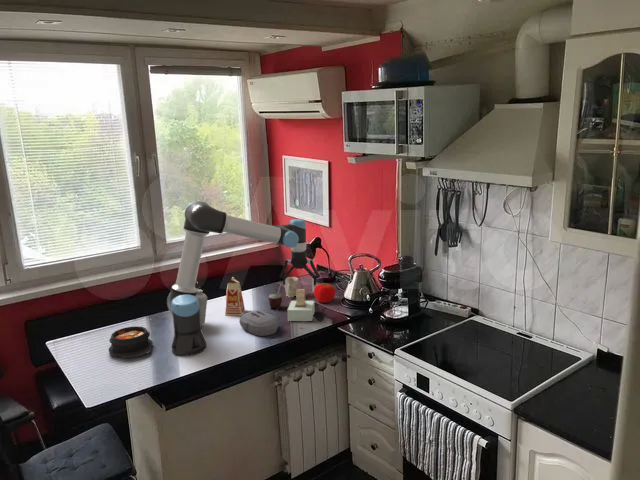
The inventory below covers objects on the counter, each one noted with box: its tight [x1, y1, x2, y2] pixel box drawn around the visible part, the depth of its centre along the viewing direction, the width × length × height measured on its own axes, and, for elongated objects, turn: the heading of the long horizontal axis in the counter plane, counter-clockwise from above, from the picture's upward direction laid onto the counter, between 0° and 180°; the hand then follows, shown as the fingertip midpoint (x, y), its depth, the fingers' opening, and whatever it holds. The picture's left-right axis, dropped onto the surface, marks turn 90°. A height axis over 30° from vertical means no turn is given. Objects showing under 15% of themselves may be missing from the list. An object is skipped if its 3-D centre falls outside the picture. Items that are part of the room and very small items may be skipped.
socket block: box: [286, 300, 316, 322], centre depth 262 cm, size 14×12×6 cm
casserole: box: [108, 325, 154, 359], centre depth 228 cm, size 25×19×8 cm
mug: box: [283, 276, 299, 298], centre depth 292 cm, size 8×13×10 cm, turn 174°
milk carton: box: [224, 276, 246, 317], centre depth 269 cm, size 9×9×20 cm
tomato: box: [313, 282, 336, 303], centre depth 283 cm, size 12×12×10 cm
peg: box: [295, 288, 306, 307], centre depth 262 cm, size 4×4×14 cm
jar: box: [168, 288, 208, 327], centre depth 252 cm, size 19×15×25 cm
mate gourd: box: [268, 282, 283, 310], centre depth 275 cm, size 8×8×15 cm
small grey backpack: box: [239, 310, 279, 337], centre depth 247 cm, size 15×8×20 cm
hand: (299, 291), depth 260 cm, fingers open, 13 cm apart
